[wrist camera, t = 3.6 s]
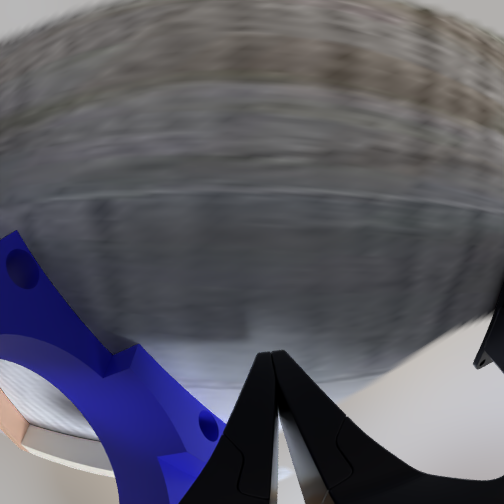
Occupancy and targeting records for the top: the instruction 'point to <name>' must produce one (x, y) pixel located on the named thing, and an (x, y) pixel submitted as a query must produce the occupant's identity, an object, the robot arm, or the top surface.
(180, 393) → the blue half clamp
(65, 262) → the top surface
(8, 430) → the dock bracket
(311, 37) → the top surface
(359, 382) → the top surface
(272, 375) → the robot arm
